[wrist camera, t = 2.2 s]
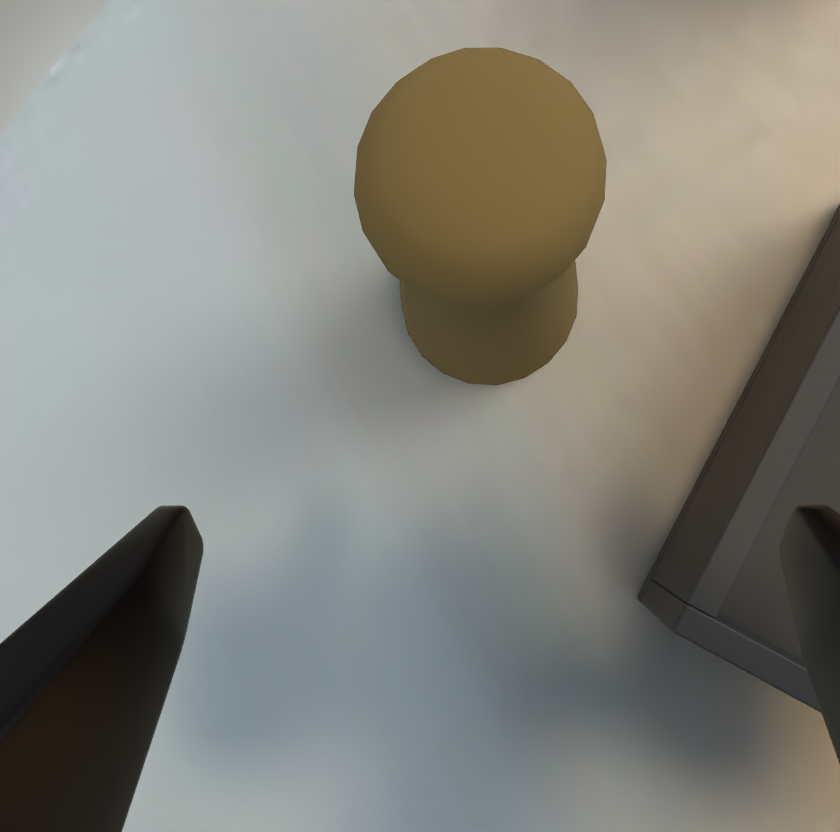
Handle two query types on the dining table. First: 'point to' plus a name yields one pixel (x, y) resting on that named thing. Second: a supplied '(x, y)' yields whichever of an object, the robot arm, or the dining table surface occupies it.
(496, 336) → the tan pawn figure
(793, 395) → the bin
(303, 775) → the dining table surface
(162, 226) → the dining table surface
